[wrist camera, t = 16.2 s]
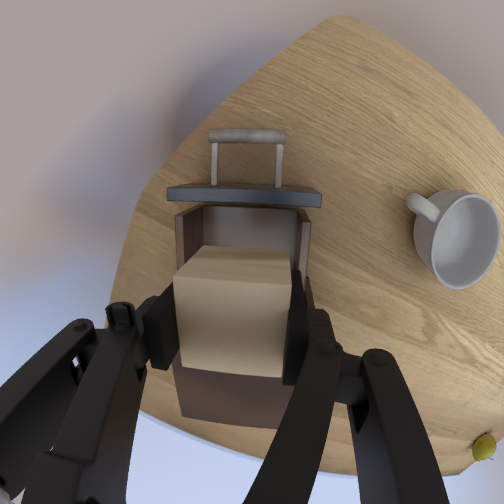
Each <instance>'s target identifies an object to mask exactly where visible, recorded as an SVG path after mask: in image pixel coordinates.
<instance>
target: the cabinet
mask: <svg viewBox="0 0 504 504" xmlns="http://www.w3.org/2000/svg"><path fill="white" fill-rule="evenodd" d="M304 296H305V302H306V308H311V309H315V305H314V300H313V295H312V291H311V286H310V281H309V277H306V282H305V290H304ZM172 367H173V373H174V379H175V384H176V389H177V394H178V399H179V404H180V409H181V414H182V416H183V417H187V418H192V419H198V420H203V421H209V422H215V423H222V424H229V425H237V426H246V427H256V428H268V429H278V428H279V425H280V423H281V420H282V418H283V415H284V413H285V411H286V408H287V405H288V403H289V400H290V398H291V395H292V393H293V390H294V387H295V386H285V385H282V380H283V370H282V376H281V377H266V376H253V375H243V374H233V373H225V372H217V371H209V370H202V369H196V368H189V367H183V366H182V361H181V353H180V348H179V350H178V352H177V354H176V356H175V357H174V359H173V361H172Z"/></svg>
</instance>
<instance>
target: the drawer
mask: <svg viewBox="0 0 504 504" xmlns="http://www.w3.org/2000/svg"><path fill="white" fill-rule="evenodd" d="M209 141H210V143H212V156H211V183H189V184H184V185H178V186H173V187H168V188H167V201H199V202H232V203H254V204H273V205H289V206H304V207H317V208H321V201H322V194H321V193H320V192H318V191H317V190H315V189H314V188H312V187H300V186H285V185H282V163H283V145H285V143H286V130H273V129H210V132H209ZM219 143H254V144H277V148H276V172H275V185H267V184H243V183H218V169H219ZM175 232H176V256H177V271H178V270H179V269H180V268H181V267H182V266H183V265H184V264H185V263H186V262H187V261H188V260H189V259H190V258H191V257H192V256H193V255H194V254H195V253H196V252H197V251H198V250H199V249H200V248H201V247H202V246H204V245H206V246H223V247H240V248H257V249H274V250H288V251H289V256H290V269H291V270H301V276H302V282H303V289H304V290H305V282H306V273H307V263H308V254H309V243H310V232H311V221H310V219H309V217H308V216H307V214H306V212H305V210H301V209H287V208H270V207H251V206H228V205H196V206H194V207H192V208H190V209H188V210H185V211H183V212H181V213H179V214H177V215H175Z"/></svg>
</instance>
